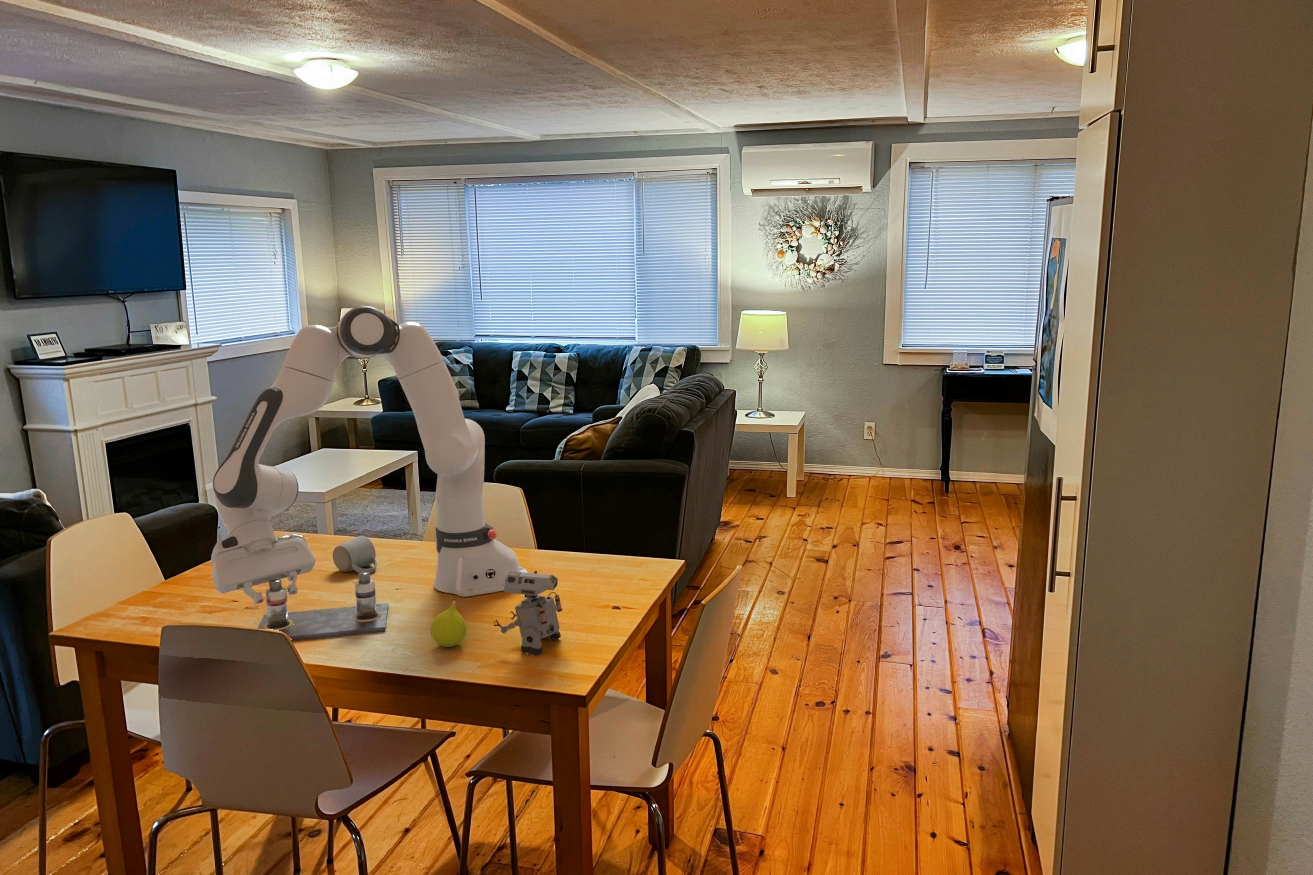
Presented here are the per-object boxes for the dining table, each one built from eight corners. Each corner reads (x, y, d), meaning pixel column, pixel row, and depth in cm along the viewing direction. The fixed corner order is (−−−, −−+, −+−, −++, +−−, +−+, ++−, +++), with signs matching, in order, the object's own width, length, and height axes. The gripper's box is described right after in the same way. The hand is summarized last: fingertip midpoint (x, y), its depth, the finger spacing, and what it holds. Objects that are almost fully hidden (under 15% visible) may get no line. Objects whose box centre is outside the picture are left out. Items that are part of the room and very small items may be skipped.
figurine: (517, 632, 192) (514, 563, 189) (567, 639, 188) (564, 569, 185) (494, 649, 184) (490, 577, 181) (546, 657, 180) (543, 584, 177)
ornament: (471, 638, 190) (468, 591, 188) (463, 652, 183) (460, 604, 181) (436, 638, 190) (433, 592, 188) (427, 652, 183) (424, 604, 181)
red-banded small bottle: (290, 619, 198) (287, 577, 196) (287, 626, 194) (284, 583, 192) (269, 621, 197) (266, 578, 195) (266, 628, 193) (262, 584, 192)
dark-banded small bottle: (377, 611, 202) (374, 569, 200) (376, 618, 198) (373, 575, 196) (358, 613, 201) (354, 571, 199) (356, 620, 197) (353, 577, 195)
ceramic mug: (331, 570, 233) (329, 541, 231) (357, 561, 239) (355, 532, 238) (359, 578, 227) (357, 548, 225) (385, 569, 234) (384, 539, 232)
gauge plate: (388, 607, 207) (388, 602, 207) (385, 631, 194) (384, 625, 194) (264, 619, 202) (263, 614, 201) (252, 644, 188) (251, 639, 188)
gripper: (299, 540, 208) (321, 592, 203) (202, 561, 194) (224, 617, 189) (305, 524, 204) (328, 577, 199) (207, 545, 190) (229, 602, 185)
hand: (276, 597), depth 194 cm, fingers open, 6 cm apart
